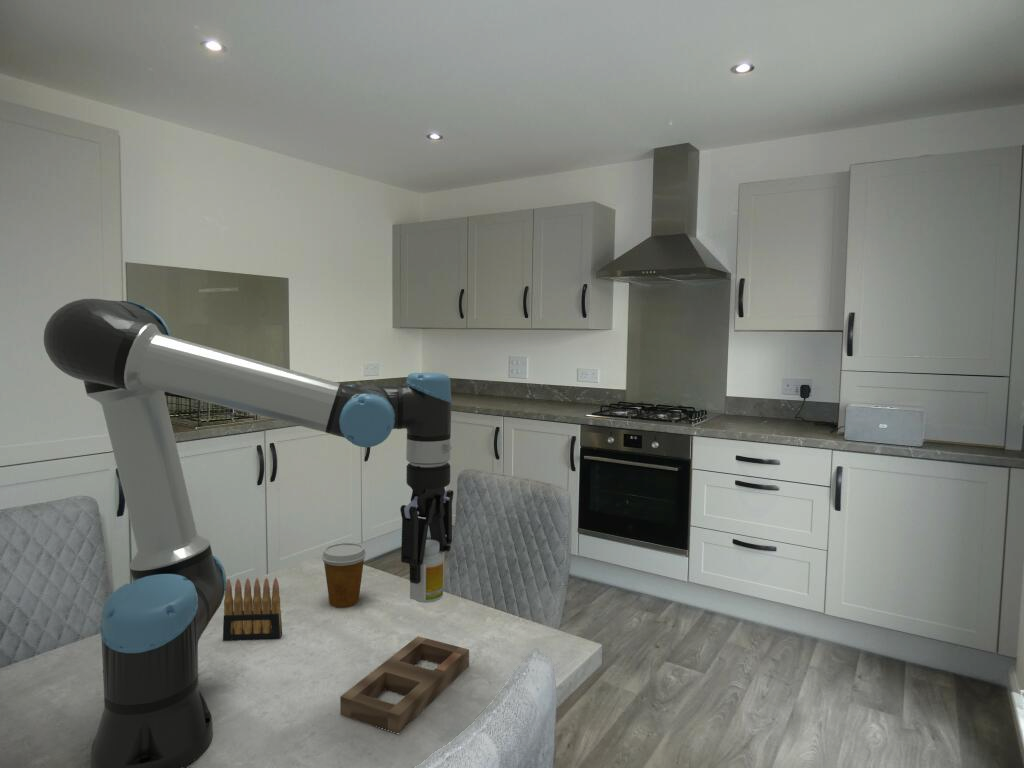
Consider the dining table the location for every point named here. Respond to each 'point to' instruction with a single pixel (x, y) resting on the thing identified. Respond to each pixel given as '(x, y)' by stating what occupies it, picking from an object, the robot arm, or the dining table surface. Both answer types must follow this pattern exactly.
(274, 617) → the ammunition clip
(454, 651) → the rack
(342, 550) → the disposable coffee cup
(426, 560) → the supplement bottle
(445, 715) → the dining table surface
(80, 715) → the dining table surface
